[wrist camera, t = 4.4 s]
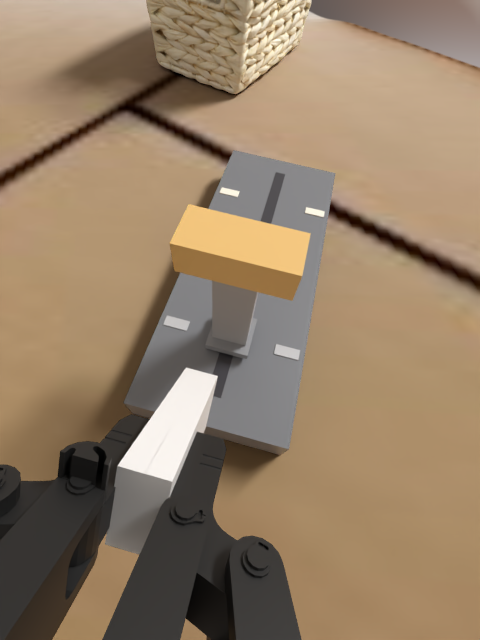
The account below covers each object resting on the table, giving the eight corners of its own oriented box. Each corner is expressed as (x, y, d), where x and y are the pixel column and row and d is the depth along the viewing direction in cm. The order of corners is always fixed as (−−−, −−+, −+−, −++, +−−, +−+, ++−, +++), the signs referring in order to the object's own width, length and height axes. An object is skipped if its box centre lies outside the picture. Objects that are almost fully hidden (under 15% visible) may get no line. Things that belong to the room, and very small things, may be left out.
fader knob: (267, 364, 23) (301, 279, 14) (185, 342, 23) (168, 246, 14) (275, 328, 24) (311, 230, 15) (198, 308, 24) (190, 201, 16)
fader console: (280, 455, 23) (289, 449, 20) (133, 413, 24) (123, 402, 21) (326, 196, 37) (335, 172, 34) (232, 174, 37) (233, 149, 35)
